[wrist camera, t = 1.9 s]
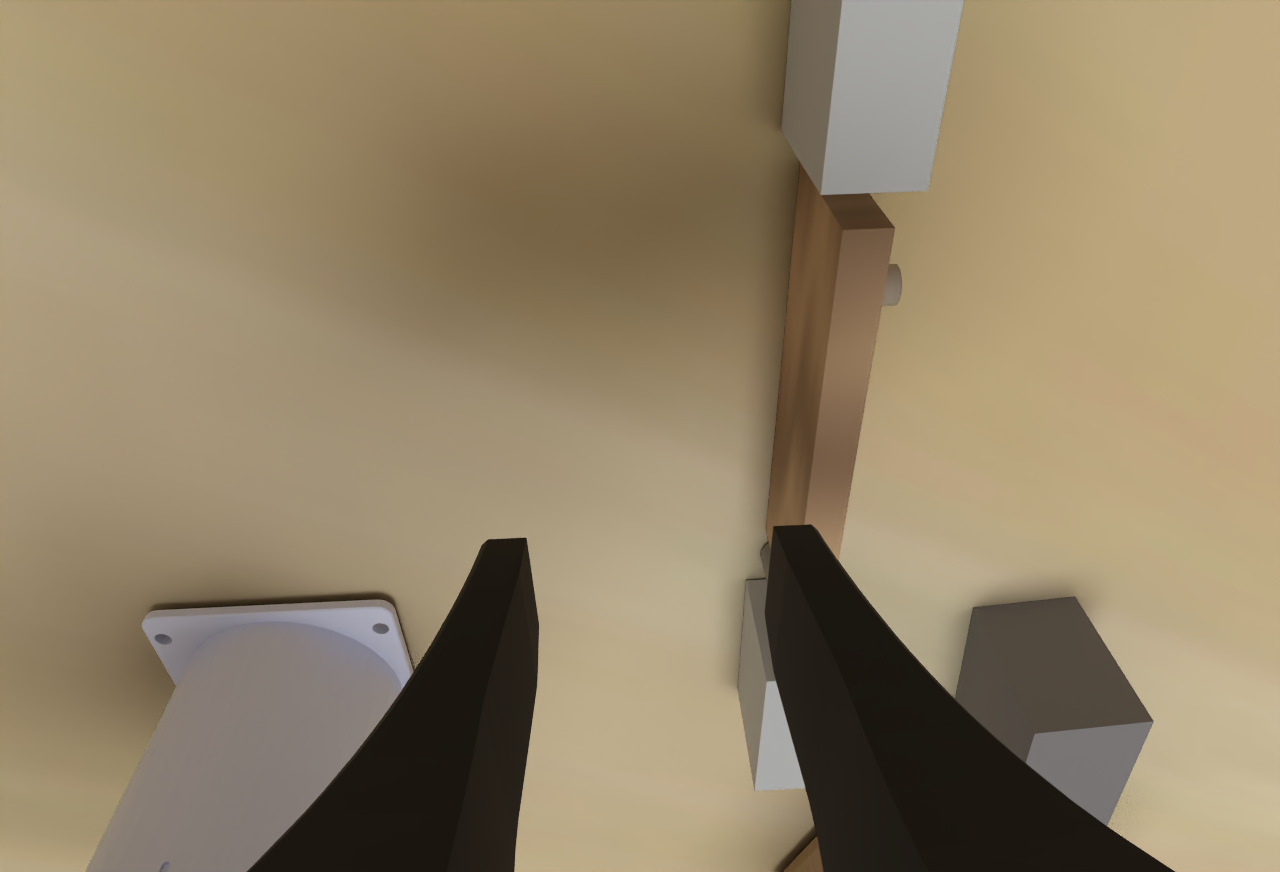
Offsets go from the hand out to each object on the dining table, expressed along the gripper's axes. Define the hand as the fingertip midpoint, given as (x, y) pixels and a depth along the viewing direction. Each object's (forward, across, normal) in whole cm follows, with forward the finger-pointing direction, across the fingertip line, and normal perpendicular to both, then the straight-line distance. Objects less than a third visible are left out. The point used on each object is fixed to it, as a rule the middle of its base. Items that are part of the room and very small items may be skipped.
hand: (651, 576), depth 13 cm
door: (+9, -5, +2) cm, 11 cm away
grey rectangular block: (+10, -14, +15) cm, 22 cm away
